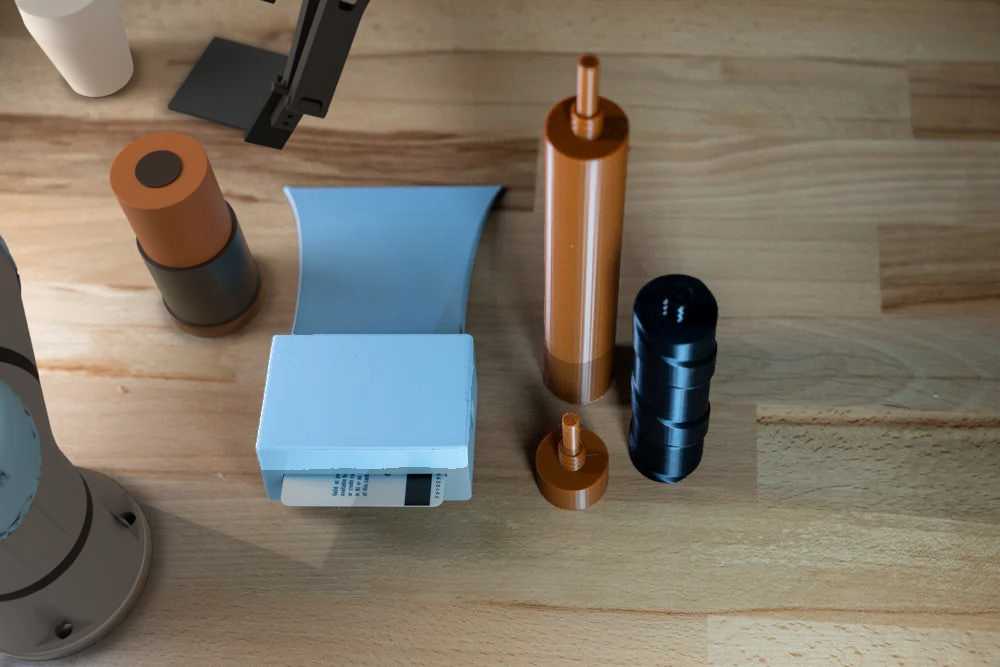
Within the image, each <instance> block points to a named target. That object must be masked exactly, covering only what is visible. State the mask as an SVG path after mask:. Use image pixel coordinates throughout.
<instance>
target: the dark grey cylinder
mask: <svg viewBox="0 0 1000 667" xmlns="http://www.w3.org/2000/svg"><path fill="white" fill-rule="evenodd" d="M224 200H225V202H226V205H227V207H228V210H229V212H230V215H231V218H232V230H231V234H230V237H229V239H228V241H227V243H226V244H225V246H224V247H223V248H222V249H221V250H220V251H219V252H218V253H217V254H216V255H215V256H214V257H212V258H211V259H209V260H207V261H205V262H203V263H201V264H198V265H195V266H191V267H185V268H173V267H167V266H164V265H161V264H159V263H157V262H155V261H153V260H152V259H151V258H150V257H149V256H148V255H147V254H146V253H145V251H144V249H143V248H142V246H141V244H140V242H139V240H138V238H137V236H136V235H135V237H136V238H135V242H136V247H137V250H138V252H139V255H140V256H141V258H142V260H143V262H144V264H145V266H146V268H147V270H148V272H149V273H150V276H151V278H152V279H153V281H154V283H155V284H156V286H157V288H158V291H159V292H160V294H161V297H162V298H161V299H162V303H163V307H164V308H165V310H166V312H167V314H168V316H169V318H170V320H171V321H172V322H173V324H174V325H175V326H176V327H177V328H179V329H180V330H181V331H182V332H184V333H186V334H189V335H191V336H194V337H198V338H205V339H212V338H221V337H226V336H228V335H231V334H233V333H236V332H238V331H240V330H241V329H243V328H244V327H246V326H247V325H249V324H250V323H251V322H252V321H253V320H254V319H255V317H256V316H257V315H258V314H259V312H260V311H261V309H262V307H263V305H264V303H265V299H266V296H267V295H266V294H267V285H266V284H267V283H266V279H265V277H264V274H263V272H262V268H261V266H260V264H259V263H258V262H257V260H256V259H255V258H254V257H253V255H252V252H251V251H250V248H249V245H248V243H247V240H246V237H245V235H244V233H243V230H242V227H241V225H240V222H239V219H238V217H237V214H236V212H235V210H234V208H233V207H232V204H230V203H229V202H228V201H227V200H226V199H225V198H224Z"/></svg>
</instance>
